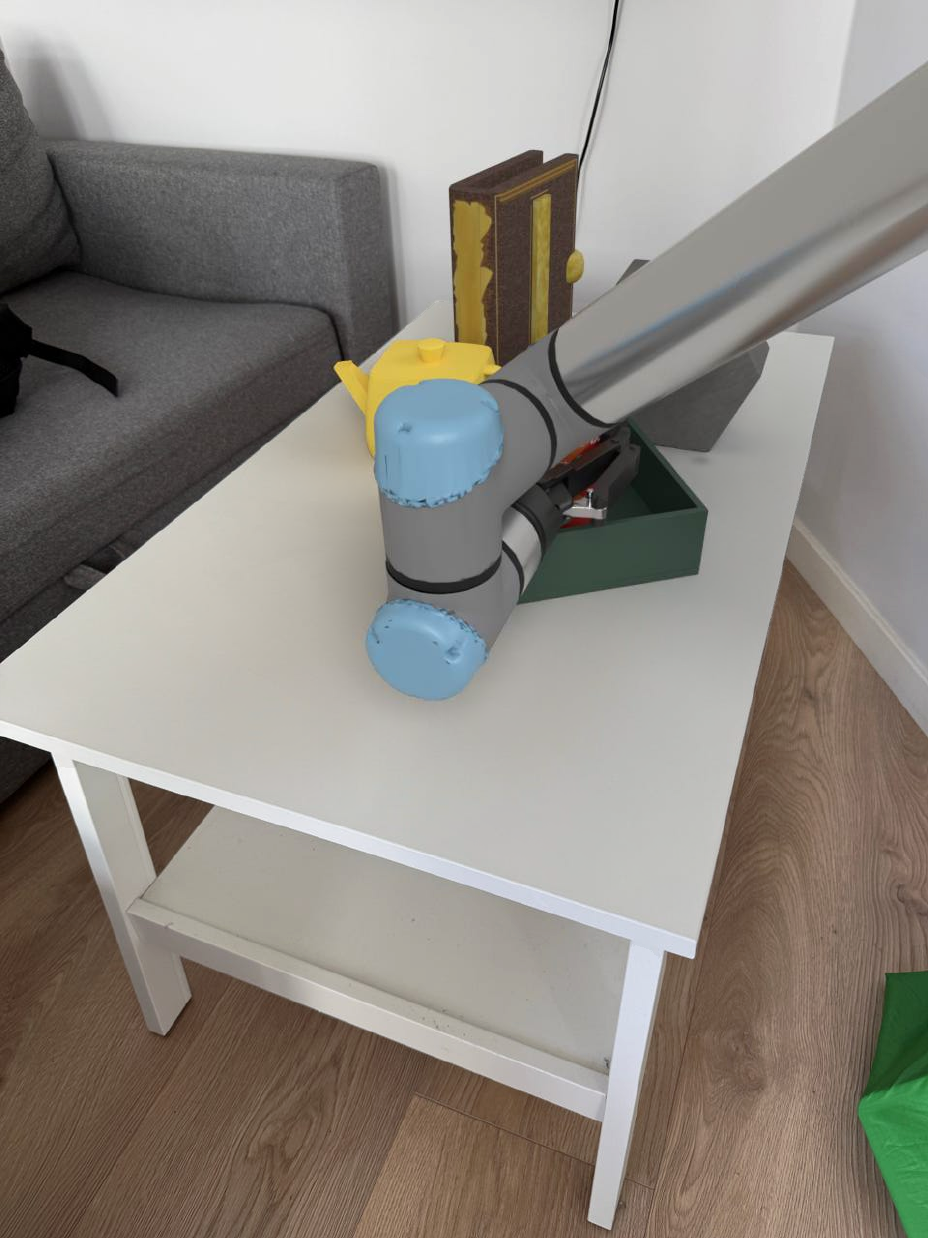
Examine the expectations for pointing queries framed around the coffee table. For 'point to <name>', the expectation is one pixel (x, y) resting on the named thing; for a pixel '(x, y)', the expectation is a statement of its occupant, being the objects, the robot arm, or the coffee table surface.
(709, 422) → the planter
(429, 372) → the teapot
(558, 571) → the bin
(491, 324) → the book
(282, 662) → the coffee table surface
